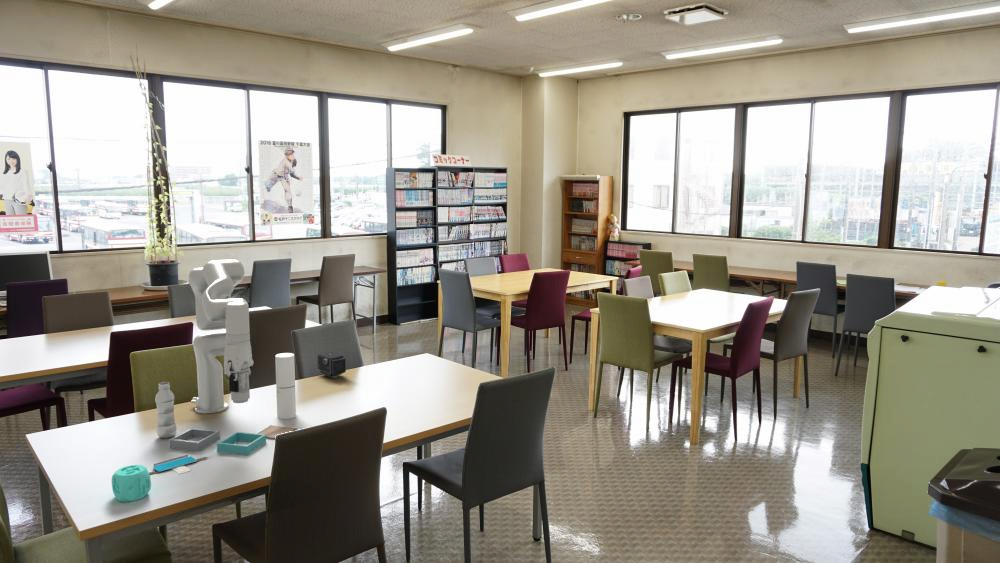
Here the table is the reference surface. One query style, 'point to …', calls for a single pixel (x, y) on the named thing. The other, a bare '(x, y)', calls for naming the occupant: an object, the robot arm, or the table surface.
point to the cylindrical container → (285, 385)
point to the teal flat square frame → (229, 447)
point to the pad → (275, 431)
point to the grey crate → (182, 442)
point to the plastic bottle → (165, 411)
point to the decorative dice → (131, 483)
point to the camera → (331, 364)
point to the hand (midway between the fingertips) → (240, 388)
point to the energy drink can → (242, 385)
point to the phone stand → (175, 464)
